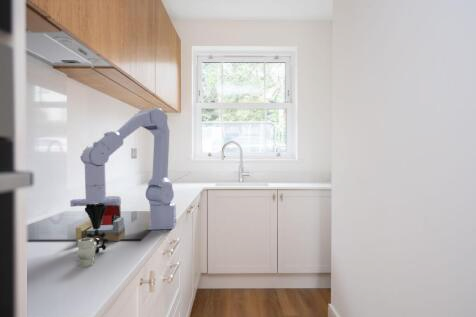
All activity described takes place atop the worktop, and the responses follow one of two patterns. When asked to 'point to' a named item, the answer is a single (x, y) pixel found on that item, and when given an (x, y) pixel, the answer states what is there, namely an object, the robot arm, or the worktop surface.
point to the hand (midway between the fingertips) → (96, 228)
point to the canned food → (111, 213)
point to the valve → (90, 248)
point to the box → (111, 236)
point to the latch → (83, 230)
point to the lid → (109, 227)
